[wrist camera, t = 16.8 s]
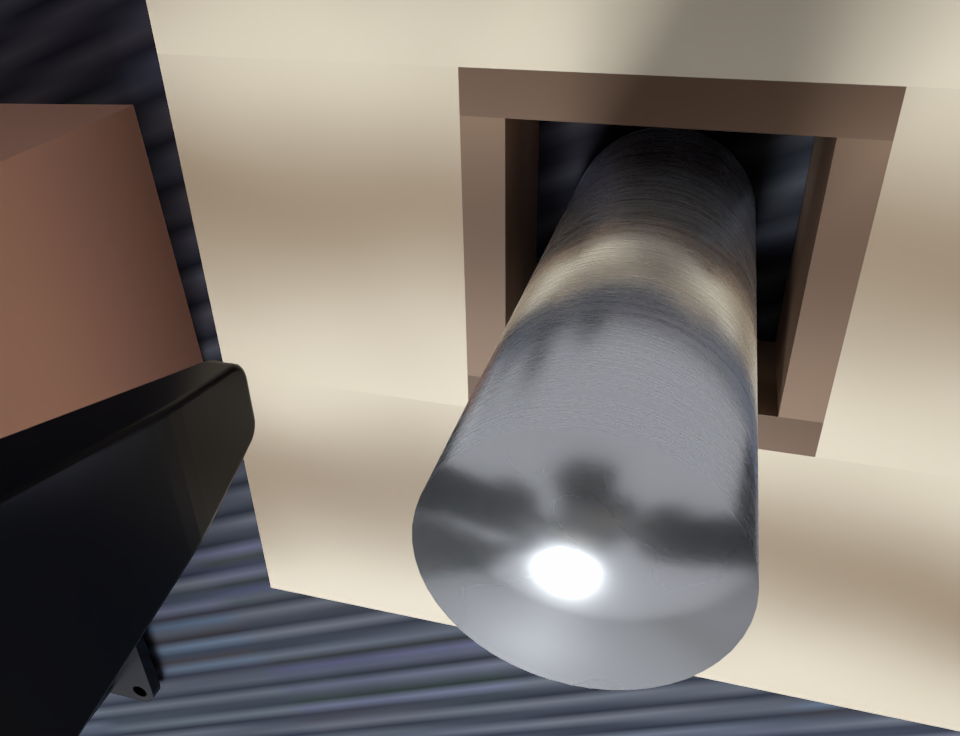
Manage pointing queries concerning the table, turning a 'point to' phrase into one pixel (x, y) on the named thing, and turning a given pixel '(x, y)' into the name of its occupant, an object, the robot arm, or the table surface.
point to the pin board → (513, 259)
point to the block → (82, 264)
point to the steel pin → (614, 435)
